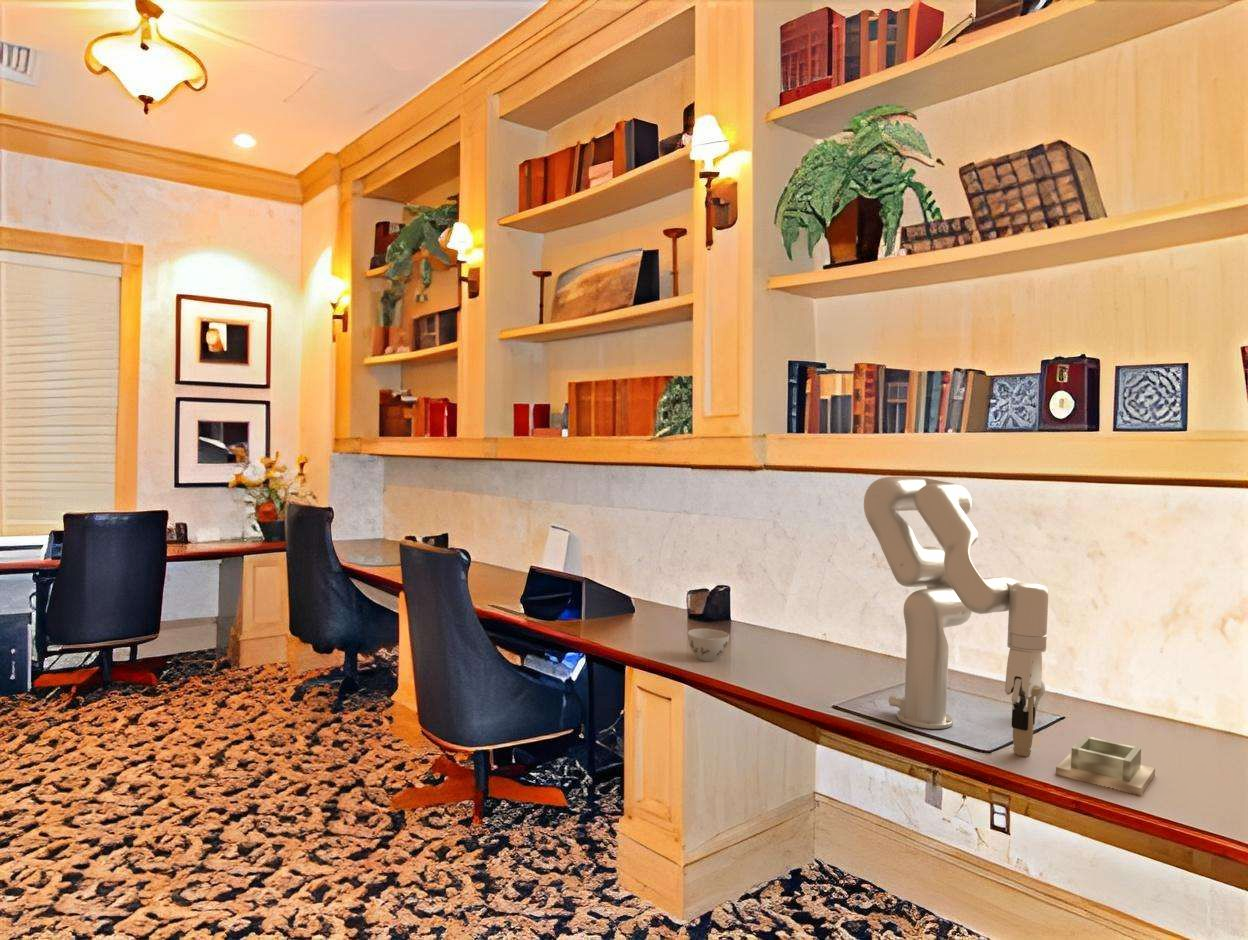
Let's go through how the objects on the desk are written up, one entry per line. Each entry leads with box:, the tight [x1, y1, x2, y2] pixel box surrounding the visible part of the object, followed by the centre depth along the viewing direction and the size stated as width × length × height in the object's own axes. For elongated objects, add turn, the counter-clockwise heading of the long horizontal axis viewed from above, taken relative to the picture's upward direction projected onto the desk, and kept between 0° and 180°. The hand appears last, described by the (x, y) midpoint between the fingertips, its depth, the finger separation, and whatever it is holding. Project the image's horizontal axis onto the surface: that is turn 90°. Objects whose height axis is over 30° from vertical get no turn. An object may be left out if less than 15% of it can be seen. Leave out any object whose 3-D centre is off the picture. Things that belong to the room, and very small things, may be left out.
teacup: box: [687, 628, 730, 662], centre depth 260 cm, size 15×12×8 cm
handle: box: [1012, 686, 1041, 758], centre depth 185 cm, size 5×6×15 cm
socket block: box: [1055, 735, 1156, 796], centre depth 175 cm, size 15×14×6 cm
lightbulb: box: [1033, 679, 1046, 718], centre depth 209 cm, size 6×6×11 cm
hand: (1023, 725), depth 185 cm, fingers closed on handle, 3 cm apart
